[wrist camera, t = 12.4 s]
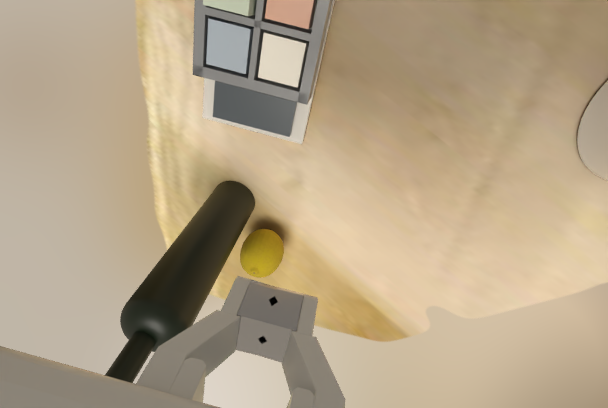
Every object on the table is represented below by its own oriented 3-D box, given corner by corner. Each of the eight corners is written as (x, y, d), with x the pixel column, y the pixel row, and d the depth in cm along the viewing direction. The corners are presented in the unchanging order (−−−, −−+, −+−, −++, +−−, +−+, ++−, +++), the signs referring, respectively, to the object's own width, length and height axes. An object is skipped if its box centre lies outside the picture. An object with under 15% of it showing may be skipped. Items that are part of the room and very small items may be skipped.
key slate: (217, 16, 33) (208, 18, 31) (257, 27, 33) (250, 29, 31) (214, 60, 35) (206, 63, 33) (252, 69, 35) (245, 74, 33)
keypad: (215, -76, 31) (195, -85, 27) (344, -44, 30) (341, -48, 27) (205, 115, 40) (190, 127, 37) (303, 140, 40) (297, 155, 37)
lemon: (256, 249, 50) (238, 289, 44) (246, 219, 48) (226, 256, 41) (292, 248, 49) (279, 289, 42) (284, 217, 46) (270, 255, 40)
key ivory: (269, 30, 33) (263, 32, 31) (309, 40, 33) (306, 43, 31) (263, 72, 35) (257, 77, 33) (301, 82, 35) (297, 87, 33)
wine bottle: (239, 224, 48) (100, 476, 23) (206, 199, 47) (19, 438, 22) (263, 200, 45) (133, 457, 20) (228, 172, 44) (43, 412, 19)
